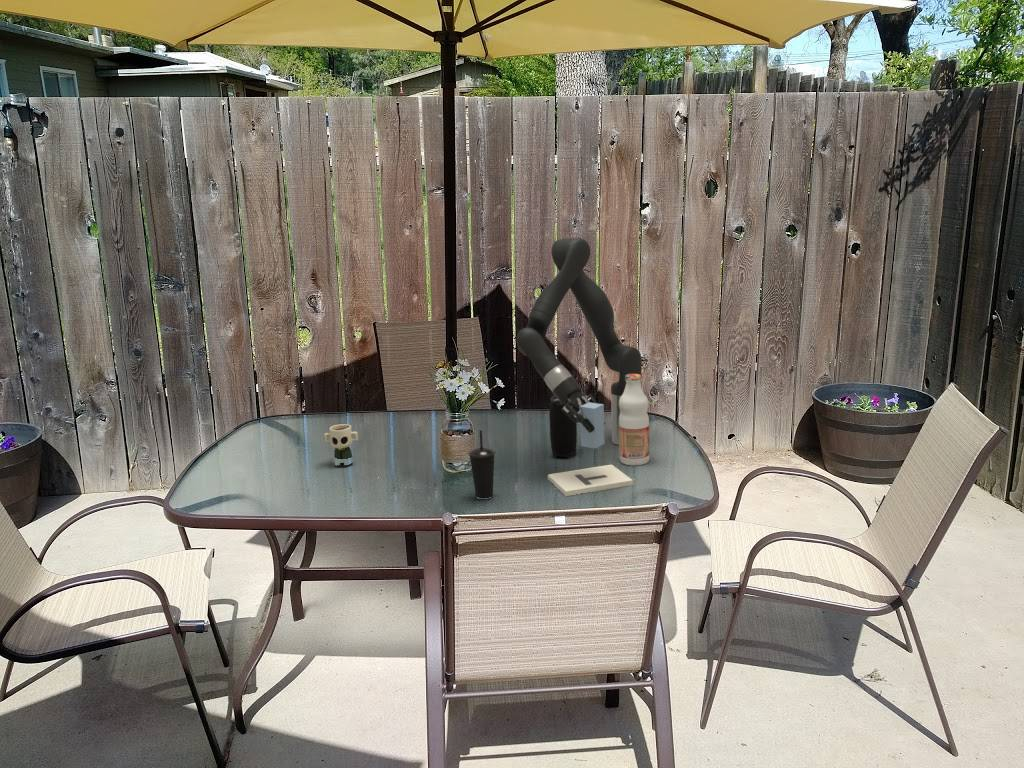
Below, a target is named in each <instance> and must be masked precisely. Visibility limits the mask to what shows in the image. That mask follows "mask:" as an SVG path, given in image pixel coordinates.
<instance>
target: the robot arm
mask: <svg viewBox="0 0 1024 768" xmlns="http://www.w3.org/2000/svg"><path fill="white" fill-rule="evenodd" d="M590 257H591V247H590V244H589V242H588V241H587V240H585V239H584V238H579V237H570V238H568V237H567V238H566V237H565V238H559V239H556V241H554V242H553V244H552V245H551V258H552V261H553V263H554V265H555V267H556V269H558V271H559V272H558V273H557V275H556V276H555V277H554V278H553V280H552V281H550V283H548V285H547V286H546V287H544V289H543V290H542V291H541V292H540V294H539V295H538V297H537V299H535V302H534V304H533V307H532V308H531V310H530V312H529V316H528V321H527V324H526V326H525V327H524V328H521V329H520V330H519V331H518V332H517V334H516V345H517V348H518V351H519V352H520V353H521V354H522V355H523V356H526V357H527V358H528V359H529V360H530V361H531V362H532V365H533V367H534V369H535V370H536V372H537V373H538V374H539V376H540V377H541V378H542V379H543V381H544V383H545V384H546V386H547V387H548V388H549V389H550V390H551V392H552V394H553V396H556V397H557V398H558V400H559V401H560V402H561V403H565V404H566V405H565V406H564V407H563V408H562V411H563V412H564V413H565V414H566V415H567V416H568V417H569V418H570V419H571V420H572V421H573V422H574V423H577V424H578V423H579V425H580V424H581V423H582V425H583V426H584V427H585V428H586V430H587V431H588V432H589V433H591V432H592V431H593V430H594V429H595V427H594V426H593V425H592V424H591V422H590V421H589V420H588V419H586V418H587V417H586V416H585V414H584V413H583V410H582V408H581V407H580V406H582V405H584V404H586V403H589V402H590V403H597V404H598V402H597V401H596V399H595V398H594V396H593V394H591V393H588V395H586V394H583V392H582V391H581V390H582V387H581V385H580V384H579V382H577V379H575V377H574V376H573V375H572V374H571V372H570V371H569V370H568V369H567V368H566V367H565V366H564V365H563V364H562V363H561V361H560V360H559V359H558V358H557V356H555V355H554V354H553V352H552V351H551V350H550V348H549V347H548V345H547V343H546V342H545V337H546V335H547V332H548V329H549V327H550V325H551V323H552V322H553V319H554V318H555V315H556V313H557V311H558V309H559V307H560V305H561V304H562V301H563V300H564V298H565V297H566V294H567V293H568V291H569V290H570V291H571V292H572V295H573V296H574V298H575V299H576V302H577V303H578V306H579V307H580V308H579V309H580V310H581V312H582V314H583V316H584V318H585V320H586V322H587V323H588V325H589V327H590V329H591V331H592V333H593V335H594V337H595V339H596V342H597V343H598V346H599V349H600V350H601V353H602V357H603V359H604V362H605V364H606V366H607V367H608V368H609V369H610V370H611V371H613V372H616V373H618V374H619V375H618V376H619V377H618V381H616V382H613V383H612V384H611V386H610V398H611V399H610V401H611V402H610V403H611V404H610V405H611V406H610V407H611V442H612V443H613V444H615V445H618V446H619V416H620V413H621V411H620V407H619V400H620V397H621V396H622V394H623V392H624V390H625V386H626V380H625V376H626V375H628V374H639V375H641V376H642V368H643V367H642V364H643V362H642V361H643V360H642V355H641V352H640V350H639V349H638V348H637V347H633V346H629V345H625V344H623V343H622V342H621V341H620V340H619V338H618V336H617V333H616V331H615V328H614V326H615V325H614V324H615V312H614V308H613V305H612V304H611V301H610V300H609V297H608V296H607V294H606V293H605V291H604V290H603V289H602V288H601V287H600V286H599V284H597V283H596V282H595V281H594V280H593V279H592V278H590V276H588V275H587V273H586V271H584V269H585V267H586V266H587V263H589V260H590ZM641 383H642V380H641V381H640V384H641ZM580 414H581V416H580ZM573 415H574V416H575V417H576V419H575V418H574V417H573ZM605 424H606V422H605V421H604V426H605Z"/></svg>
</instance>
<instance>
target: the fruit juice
mask: <svg viewBox="0 0 1024 768" xmlns="http://www.w3.org/2000/svg"><path fill="white" fill-rule="evenodd" d="M625 380H626V386H625V390H624V392H623V394H622V396H621V397H620V400H619V407H620V411H621V413H620V416H619V445H618V449H619V450H618V452H619V453H618V455H619V457H618V459H619V462H620V463H621V464H623V465H626V466H643V465H646V464H648V463H649V461H650V419H649V414H648V409H649V400H648V397H647V396H646V394H645V393H644V391H643V388H642V385H641V383H640V381H641V382H642V374H641V375H639V374H628V375H626V376H625Z"/></svg>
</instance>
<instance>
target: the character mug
mask: <svg viewBox="0 0 1024 768" xmlns="http://www.w3.org/2000/svg"><path fill="white" fill-rule="evenodd" d="M323 435H324V442H325V443H328V444H329V443H330V445H331V447H332V448H333V449H334V456H333V457H335V458H337V459H348V458H351V457H353V453H352V450H351V447H350V446H352V445H353V443H354V442H358V441H359V437H358V436H359V435H358V431H352V425H351V424H348V423H341V424H335V425H332V426H330V427H329V432H326V433H324V434H323ZM353 435H354V438H353ZM328 437H329V438H328Z"/></svg>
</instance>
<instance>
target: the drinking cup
mask: <svg viewBox="0 0 1024 768" xmlns="http://www.w3.org/2000/svg"><path fill="white" fill-rule="evenodd" d="M483 443H484V442H483V431H482V430H480V429H479V446H478V447H475V448H474V449H473V448H472V449H471V450H468V455H469V460H470V466H471V473H472V478H473V485H474V490H475V491H474V492H475V497H476V496H477V497H479V498H489V497H492V496H494V478H495V476H494V474H495V454H496V450H495V449H493V448H490V447H488V446H483ZM492 498H493V497H492Z"/></svg>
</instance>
